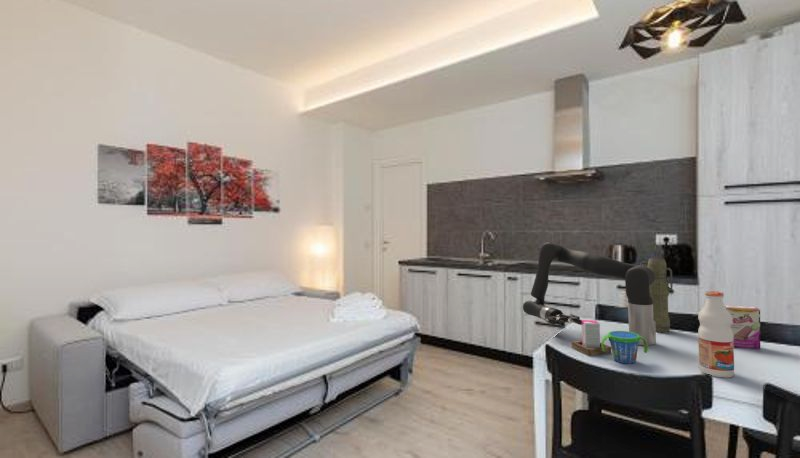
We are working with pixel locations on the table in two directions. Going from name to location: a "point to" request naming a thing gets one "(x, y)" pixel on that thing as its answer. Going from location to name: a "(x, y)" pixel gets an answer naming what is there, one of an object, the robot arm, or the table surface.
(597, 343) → the supplement box
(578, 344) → the wooden square frame
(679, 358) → the table surface
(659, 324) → the thermos
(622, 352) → the snack cup
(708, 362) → the fruit juice
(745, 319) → the candy bar box
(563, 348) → the table surface
